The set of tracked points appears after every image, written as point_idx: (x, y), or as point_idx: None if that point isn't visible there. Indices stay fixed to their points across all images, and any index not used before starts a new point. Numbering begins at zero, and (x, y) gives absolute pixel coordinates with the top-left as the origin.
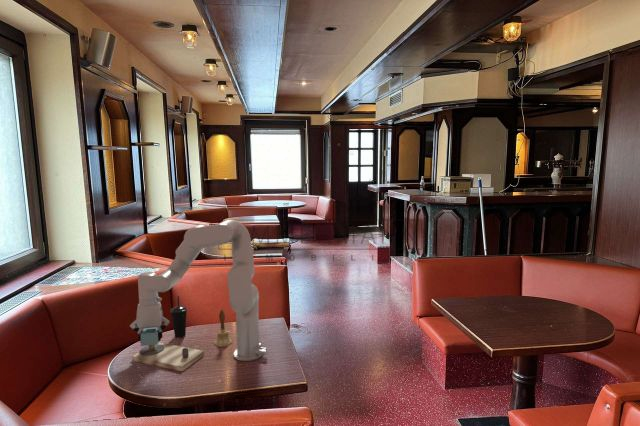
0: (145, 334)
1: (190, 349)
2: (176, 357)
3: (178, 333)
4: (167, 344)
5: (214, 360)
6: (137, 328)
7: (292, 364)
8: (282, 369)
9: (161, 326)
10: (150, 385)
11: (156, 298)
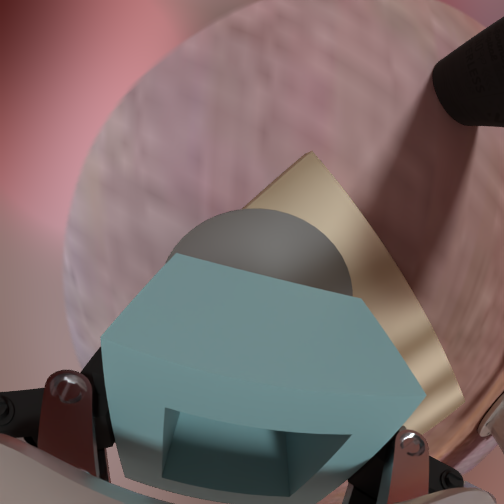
0: (181, 492)
1: (445, 382)
2: None
3: (475, 117)
4: (384, 262)
5: (449, 423)
6: (24, 425)
7: None
8: (482, 453)
9: (415, 478)
10: None
11: None
